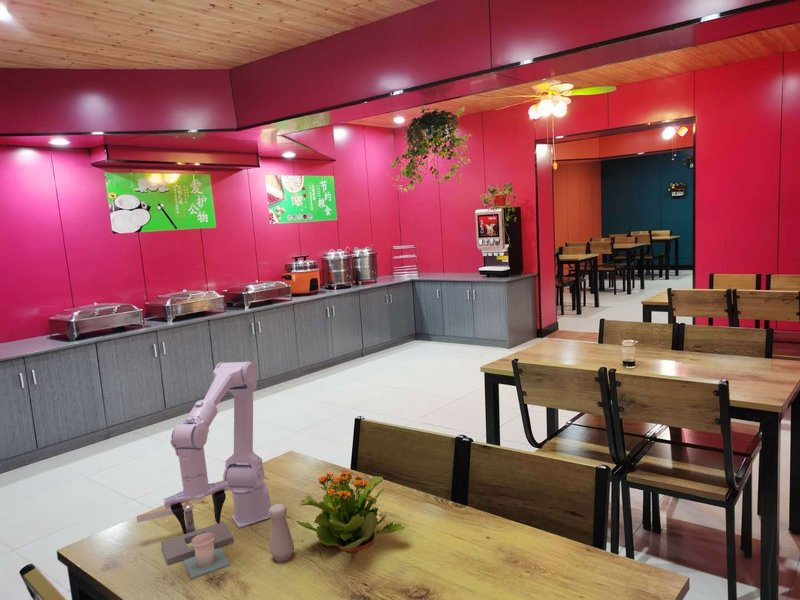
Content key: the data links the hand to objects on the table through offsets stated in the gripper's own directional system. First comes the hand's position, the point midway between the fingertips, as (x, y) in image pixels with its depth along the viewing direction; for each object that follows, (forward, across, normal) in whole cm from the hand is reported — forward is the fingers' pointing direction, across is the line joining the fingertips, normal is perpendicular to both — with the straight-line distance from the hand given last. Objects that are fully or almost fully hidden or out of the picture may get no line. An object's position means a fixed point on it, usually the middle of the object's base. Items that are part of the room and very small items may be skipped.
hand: (201, 526), depth 138 cm
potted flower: (+10, +33, -16) cm, 38 cm away
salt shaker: (+10, +16, -10) cm, 21 cm away
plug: (+9, 0, 0) cm, 9 cm away
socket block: (+9, 0, +10) cm, 14 cm away
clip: (+3, -6, +20) cm, 21 cm away
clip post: (+9, 0, +18) cm, 21 cm away
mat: (+9, 0, 0) cm, 9 cm away
